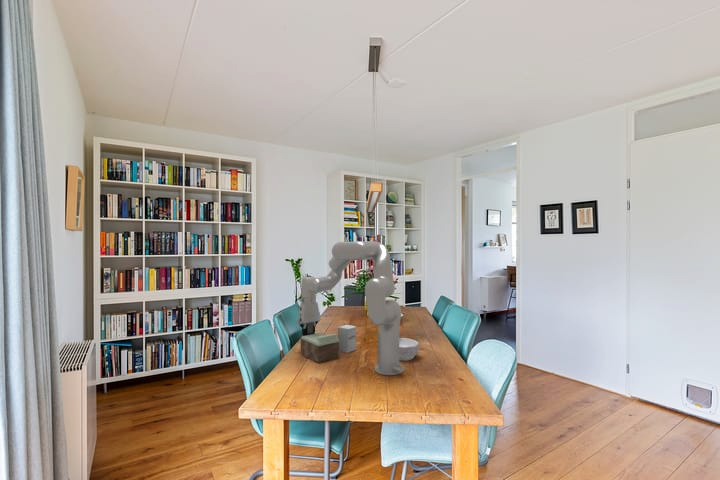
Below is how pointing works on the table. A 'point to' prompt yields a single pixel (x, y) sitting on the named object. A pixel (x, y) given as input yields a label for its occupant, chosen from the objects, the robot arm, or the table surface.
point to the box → (320, 351)
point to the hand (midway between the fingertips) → (308, 334)
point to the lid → (321, 339)
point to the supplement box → (347, 338)
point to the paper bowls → (407, 349)
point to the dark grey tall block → (309, 328)
